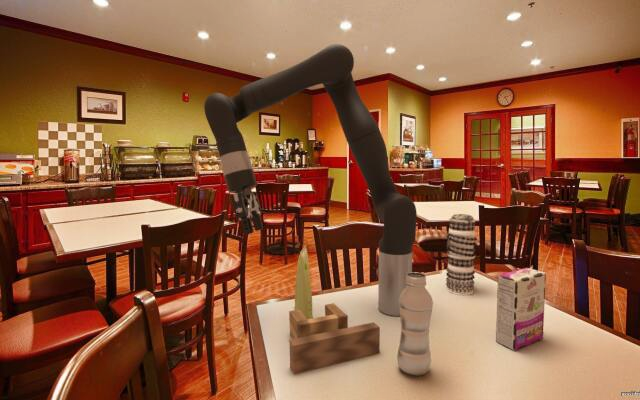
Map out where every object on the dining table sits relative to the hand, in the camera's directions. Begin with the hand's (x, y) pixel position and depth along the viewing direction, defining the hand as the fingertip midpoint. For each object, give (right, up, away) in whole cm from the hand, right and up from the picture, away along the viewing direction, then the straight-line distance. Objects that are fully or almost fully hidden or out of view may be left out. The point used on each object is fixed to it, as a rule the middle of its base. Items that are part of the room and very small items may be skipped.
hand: (254, 231), depth 89 cm
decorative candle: (+63, -22, +24) cm, 71 cm away
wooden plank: (+20, -26, -15) cm, 36 cm away
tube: (+12, -24, +5) cm, 28 cm away
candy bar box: (+64, -25, -8) cm, 69 cm away
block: (+16, -25, -5) cm, 31 cm away
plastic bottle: (+36, -27, -19) cm, 49 cm away
